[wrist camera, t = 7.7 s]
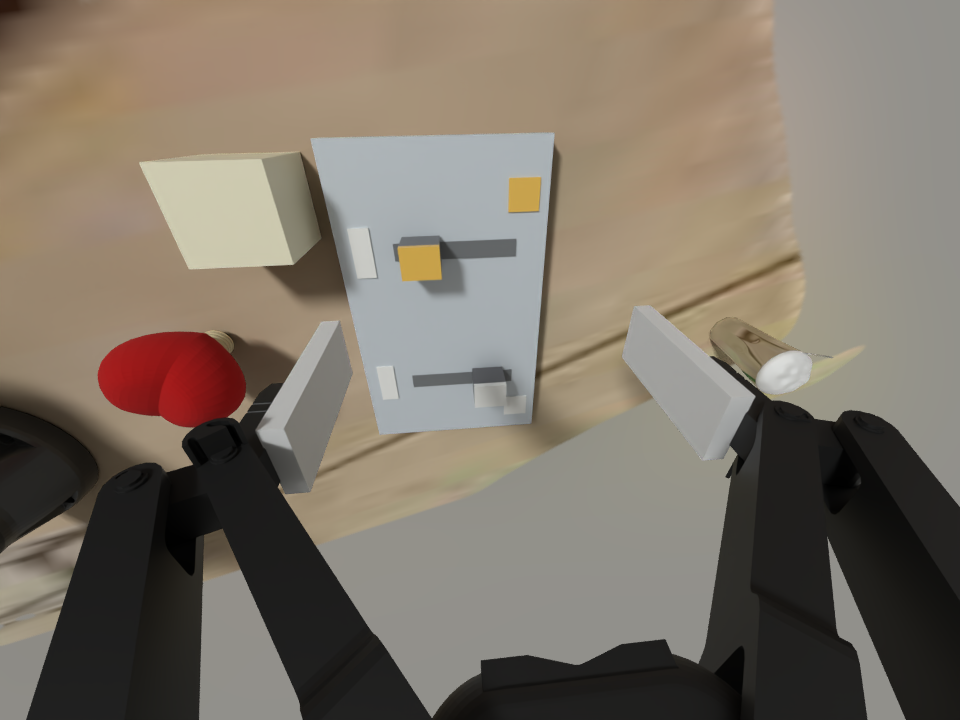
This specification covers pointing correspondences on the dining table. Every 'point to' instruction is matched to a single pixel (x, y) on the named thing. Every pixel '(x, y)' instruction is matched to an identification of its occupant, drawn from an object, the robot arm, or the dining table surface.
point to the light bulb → (174, 377)
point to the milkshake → (762, 356)
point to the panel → (465, 268)
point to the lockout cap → (236, 208)
